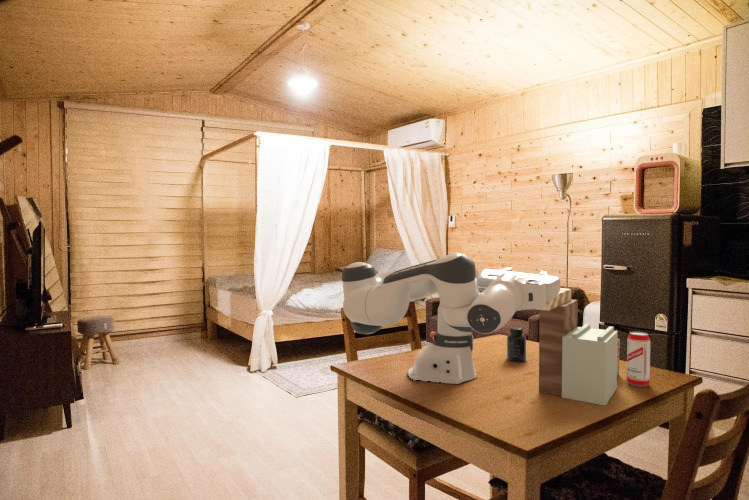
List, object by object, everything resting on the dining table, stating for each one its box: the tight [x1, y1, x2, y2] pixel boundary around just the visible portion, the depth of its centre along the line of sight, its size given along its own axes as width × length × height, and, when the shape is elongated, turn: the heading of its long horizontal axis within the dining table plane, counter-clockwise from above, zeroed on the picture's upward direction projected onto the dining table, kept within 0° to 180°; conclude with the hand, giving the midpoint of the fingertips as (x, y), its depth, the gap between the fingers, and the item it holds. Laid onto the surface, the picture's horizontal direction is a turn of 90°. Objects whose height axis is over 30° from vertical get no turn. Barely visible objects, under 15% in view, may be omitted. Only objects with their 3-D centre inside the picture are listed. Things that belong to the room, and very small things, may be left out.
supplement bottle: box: [506, 326, 527, 363], centre depth 180 cm, size 7×7×12 cm
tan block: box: [535, 287, 572, 311], centre depth 145 cm, size 24×4×4 cm, turn 144°
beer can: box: [626, 331, 651, 388], centre depth 151 cm, size 6×6×16 cm
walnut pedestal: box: [538, 299, 579, 397], centre depth 150 cm, size 16×7×26 cm, turn 144°
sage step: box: [561, 323, 619, 406], centre depth 144 cm, size 18×12×19 cm, turn 144°
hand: (526, 271), depth 129 cm, fingers open, 8 cm apart
